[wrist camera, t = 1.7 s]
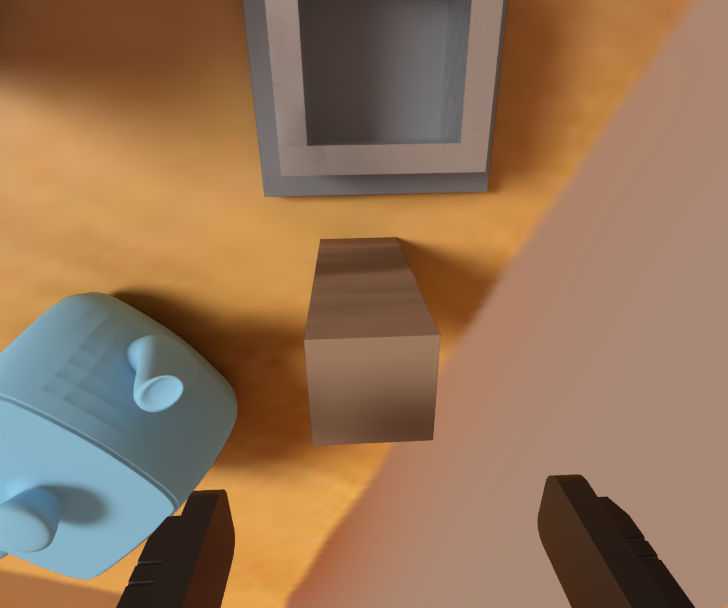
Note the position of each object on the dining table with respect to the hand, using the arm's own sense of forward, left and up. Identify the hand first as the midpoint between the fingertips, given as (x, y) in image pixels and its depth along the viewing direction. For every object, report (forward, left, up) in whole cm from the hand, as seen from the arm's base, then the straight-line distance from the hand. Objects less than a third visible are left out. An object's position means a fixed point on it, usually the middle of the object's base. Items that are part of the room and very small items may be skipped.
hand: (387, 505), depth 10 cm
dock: (-11, +1, -17) cm, 20 cm away
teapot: (+6, -14, -17) cm, 23 cm away
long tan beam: (0, 0, -17) cm, 17 cm away
